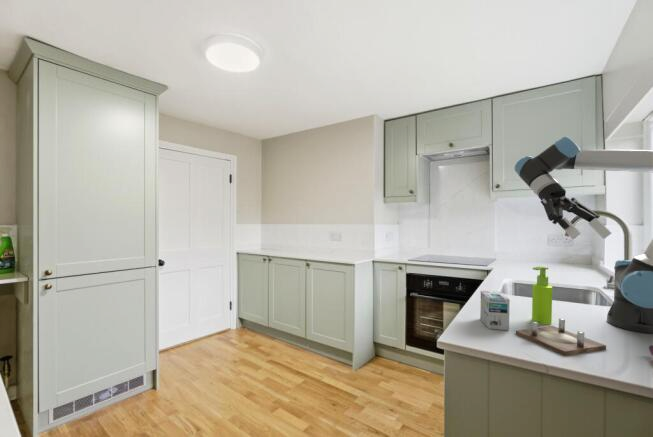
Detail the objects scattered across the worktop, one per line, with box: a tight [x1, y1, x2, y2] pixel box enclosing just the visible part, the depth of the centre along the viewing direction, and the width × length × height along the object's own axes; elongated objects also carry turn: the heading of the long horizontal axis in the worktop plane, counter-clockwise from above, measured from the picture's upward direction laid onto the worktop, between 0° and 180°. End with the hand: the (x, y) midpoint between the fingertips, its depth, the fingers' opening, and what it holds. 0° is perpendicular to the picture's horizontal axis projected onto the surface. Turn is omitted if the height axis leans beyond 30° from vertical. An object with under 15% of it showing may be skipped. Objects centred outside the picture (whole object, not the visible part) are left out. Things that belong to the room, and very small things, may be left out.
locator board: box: [515, 318, 607, 357], centre depth 97 cm, size 16×16×5 cm
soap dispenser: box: [531, 266, 553, 325], centre depth 114 cm, size 6×7×20 cm
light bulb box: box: [479, 290, 511, 331], centre depth 111 cm, size 11×7×11 cm, turn 168°
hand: (592, 236), depth 98 cm, fingers open, 13 cm apart
